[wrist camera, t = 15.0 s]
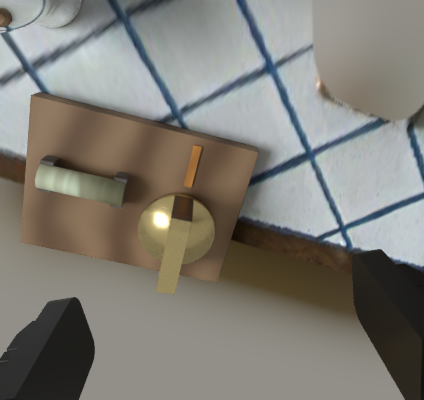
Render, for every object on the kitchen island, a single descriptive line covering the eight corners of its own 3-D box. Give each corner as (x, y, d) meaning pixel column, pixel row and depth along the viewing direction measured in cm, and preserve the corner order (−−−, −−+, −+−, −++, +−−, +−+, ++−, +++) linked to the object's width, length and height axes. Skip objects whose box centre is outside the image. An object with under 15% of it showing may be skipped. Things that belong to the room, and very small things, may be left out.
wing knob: (146, 185, 38) (136, 210, 33) (222, 200, 39) (225, 228, 34) (134, 252, 41) (123, 285, 36) (205, 265, 42) (205, 300, 37)
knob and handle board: (256, 147, 39) (262, 161, 35) (216, 272, 45) (217, 298, 41) (39, 92, 37) (17, 100, 32) (28, 233, 43) (8, 256, 38)
